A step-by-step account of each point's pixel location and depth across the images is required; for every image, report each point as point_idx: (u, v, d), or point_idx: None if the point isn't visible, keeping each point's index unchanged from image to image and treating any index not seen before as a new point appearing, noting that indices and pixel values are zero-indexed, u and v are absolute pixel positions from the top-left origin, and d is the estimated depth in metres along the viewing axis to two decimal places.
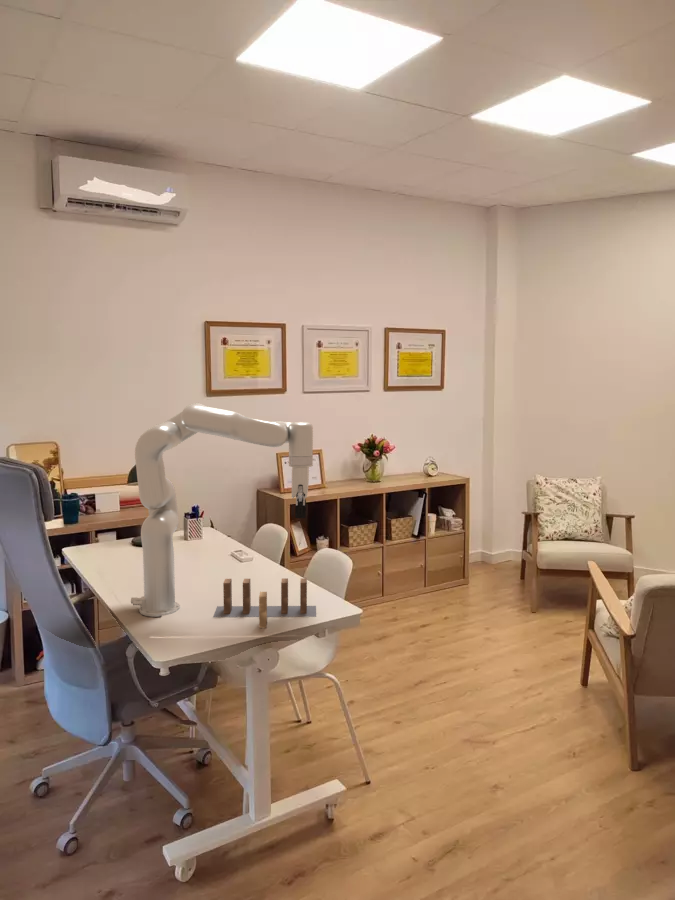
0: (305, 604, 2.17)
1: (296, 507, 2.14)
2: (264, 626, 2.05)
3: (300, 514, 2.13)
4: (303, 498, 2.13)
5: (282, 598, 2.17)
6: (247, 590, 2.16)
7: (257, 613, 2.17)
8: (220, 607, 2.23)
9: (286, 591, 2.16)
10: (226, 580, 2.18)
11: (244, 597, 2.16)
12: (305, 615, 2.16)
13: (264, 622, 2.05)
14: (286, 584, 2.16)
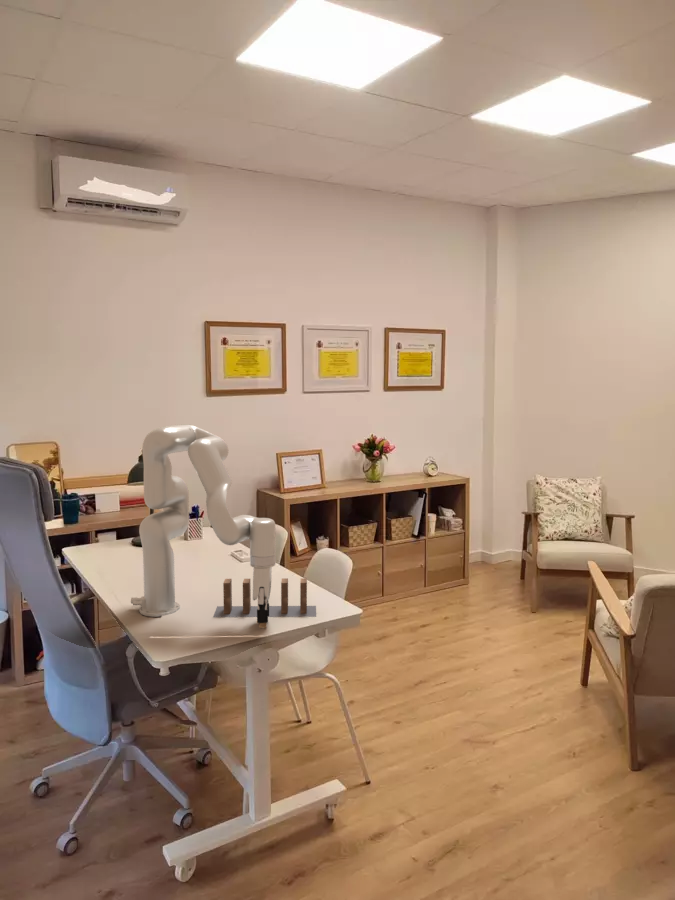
0: (305, 604, 2.17)
1: (258, 611, 2.04)
2: (264, 626, 2.05)
3: (262, 619, 2.03)
4: (265, 603, 2.03)
5: (282, 598, 2.17)
6: (247, 590, 2.16)
7: None
8: (220, 607, 2.23)
9: (286, 591, 2.16)
10: (226, 580, 2.18)
11: (244, 597, 2.16)
12: (305, 615, 2.16)
13: None
14: (286, 584, 2.16)
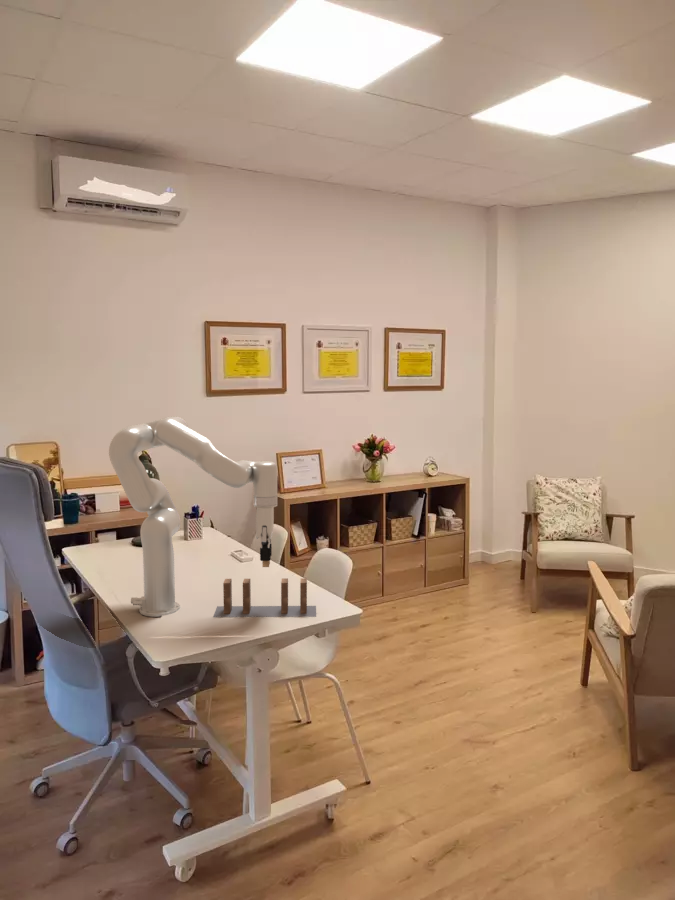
0: (305, 604, 2.17)
1: (261, 550, 2.14)
2: (267, 564, 2.15)
3: (265, 557, 2.13)
4: (268, 541, 2.13)
5: (282, 598, 2.17)
6: (247, 590, 2.16)
7: (257, 613, 2.17)
8: (220, 607, 2.23)
9: (286, 591, 2.16)
10: (226, 580, 2.18)
11: (244, 597, 2.16)
12: (305, 615, 2.16)
13: None
14: (286, 584, 2.16)
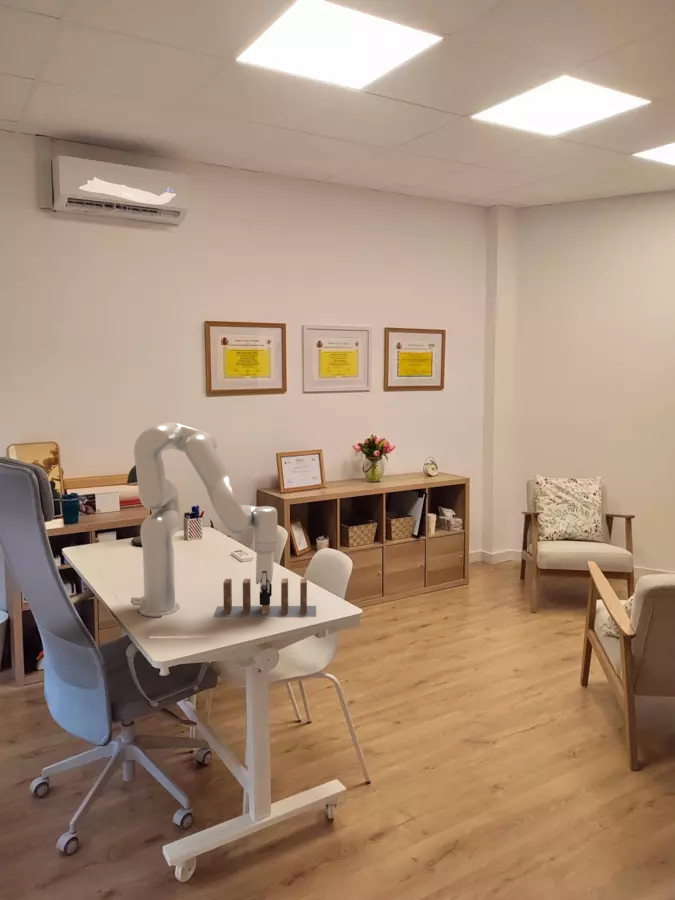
0: (305, 604, 2.17)
1: (260, 594, 2.14)
2: (267, 611, 2.17)
3: (264, 601, 2.13)
4: (267, 585, 2.14)
5: (282, 598, 2.17)
6: (247, 590, 2.16)
7: (257, 613, 2.17)
8: (220, 607, 2.23)
9: (286, 591, 2.16)
10: (226, 580, 2.18)
11: (244, 597, 2.16)
12: (305, 615, 2.16)
13: (266, 607, 2.17)
14: (286, 584, 2.16)
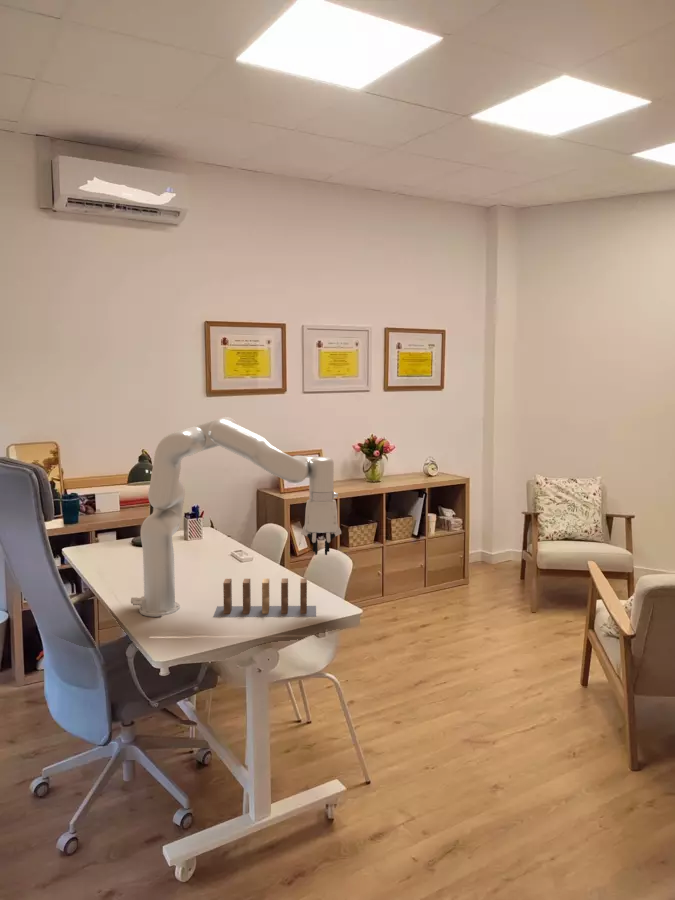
0: (305, 604, 2.17)
1: None
2: (267, 611, 2.17)
3: None
4: (312, 535, 2.16)
5: (282, 598, 2.17)
6: (247, 590, 2.16)
7: (257, 613, 2.17)
8: (220, 607, 2.23)
9: (286, 591, 2.16)
10: (226, 580, 2.18)
11: (244, 597, 2.16)
12: (305, 615, 2.16)
13: (266, 607, 2.17)
14: (286, 584, 2.16)
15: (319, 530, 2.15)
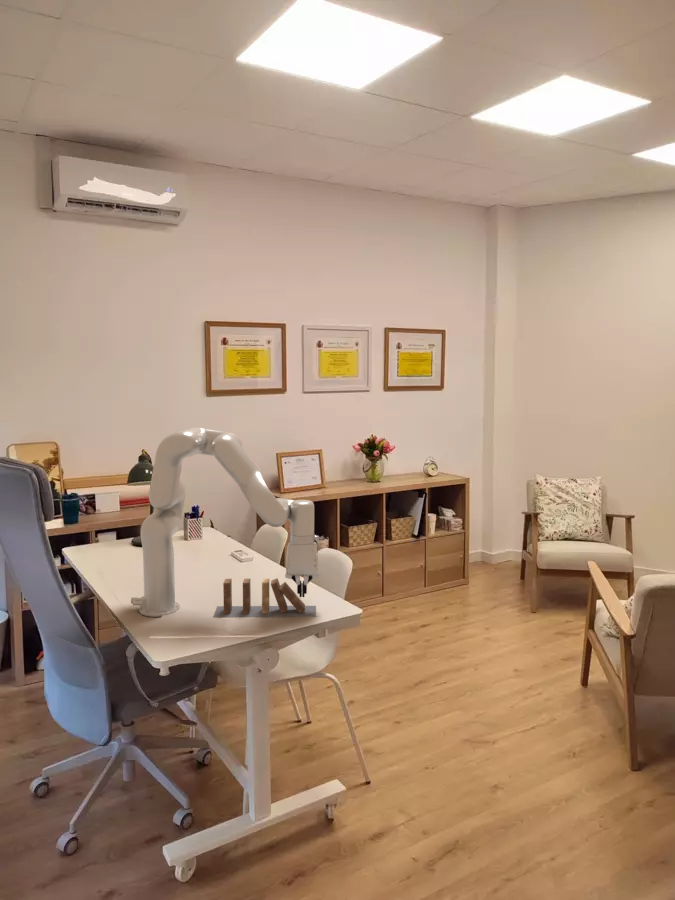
0: (298, 603, 2.17)
1: None
2: (267, 611, 2.17)
3: (297, 592, 2.19)
4: (295, 578, 2.17)
5: (277, 598, 2.16)
6: (247, 590, 2.16)
7: (257, 613, 2.17)
8: (220, 607, 2.23)
9: (278, 591, 2.16)
10: (226, 580, 2.18)
11: (244, 597, 2.16)
12: (305, 615, 2.16)
13: (266, 607, 2.17)
14: (276, 584, 2.16)
15: (300, 573, 2.16)
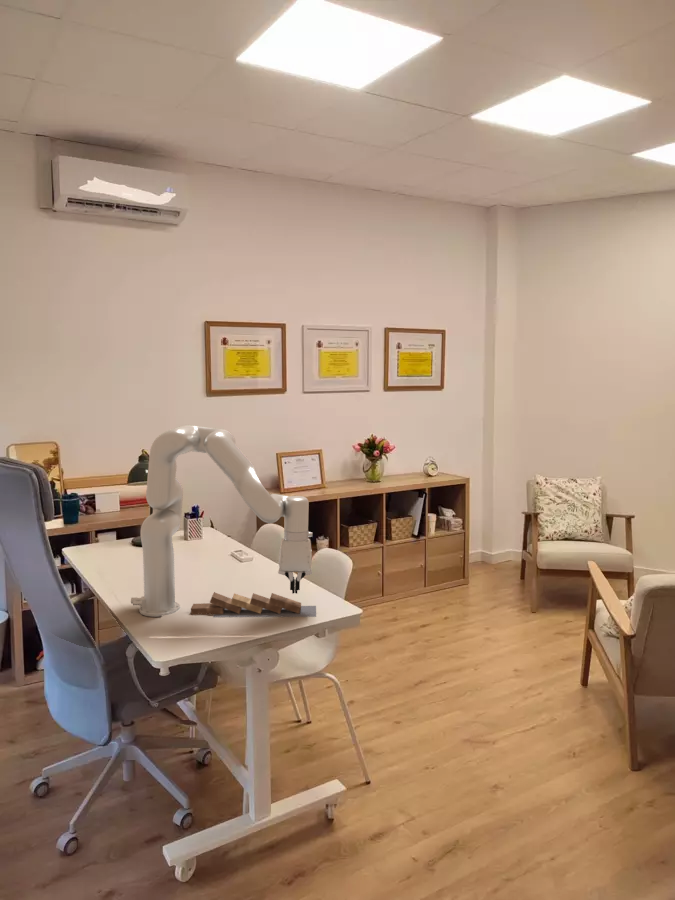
0: (291, 605, 2.17)
1: None
2: (259, 608, 2.17)
3: (290, 588, 2.19)
4: (288, 574, 2.17)
5: (265, 607, 2.17)
6: (218, 601, 2.16)
7: (257, 613, 2.17)
8: None
9: (260, 601, 2.16)
10: None
11: (224, 606, 2.16)
12: (305, 615, 2.16)
13: (255, 607, 2.17)
14: (253, 599, 2.16)
15: (293, 569, 2.16)
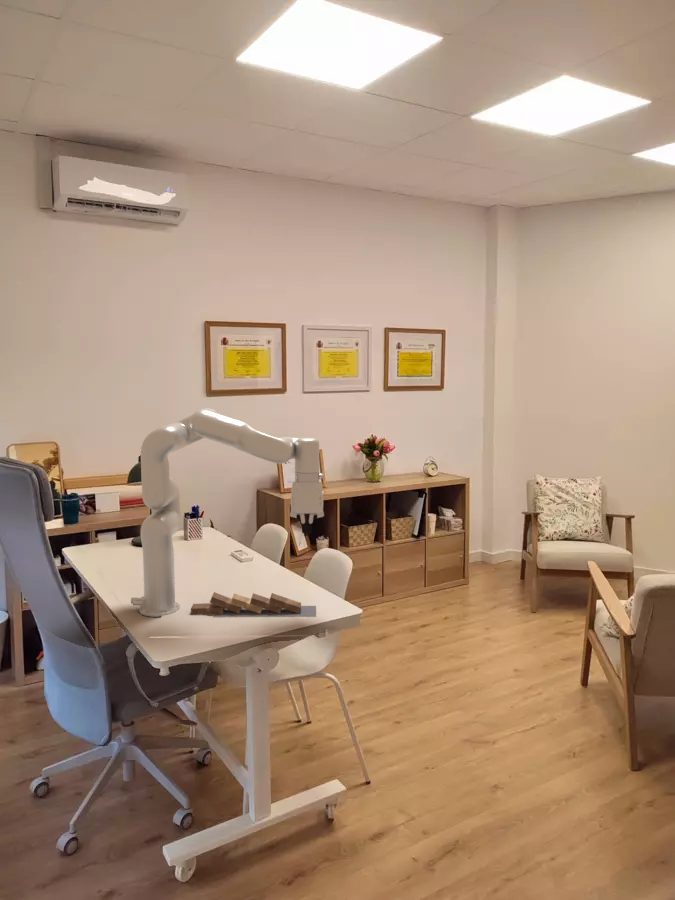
0: (291, 605, 2.17)
1: None
2: (259, 608, 2.17)
3: (302, 531, 2.17)
4: (300, 517, 2.15)
5: (265, 607, 2.17)
6: (218, 601, 2.16)
7: (257, 613, 2.17)
8: None
9: (260, 601, 2.16)
10: None
11: (224, 606, 2.16)
12: (305, 615, 2.16)
13: (255, 607, 2.17)
14: (253, 599, 2.16)
15: (305, 511, 2.14)
